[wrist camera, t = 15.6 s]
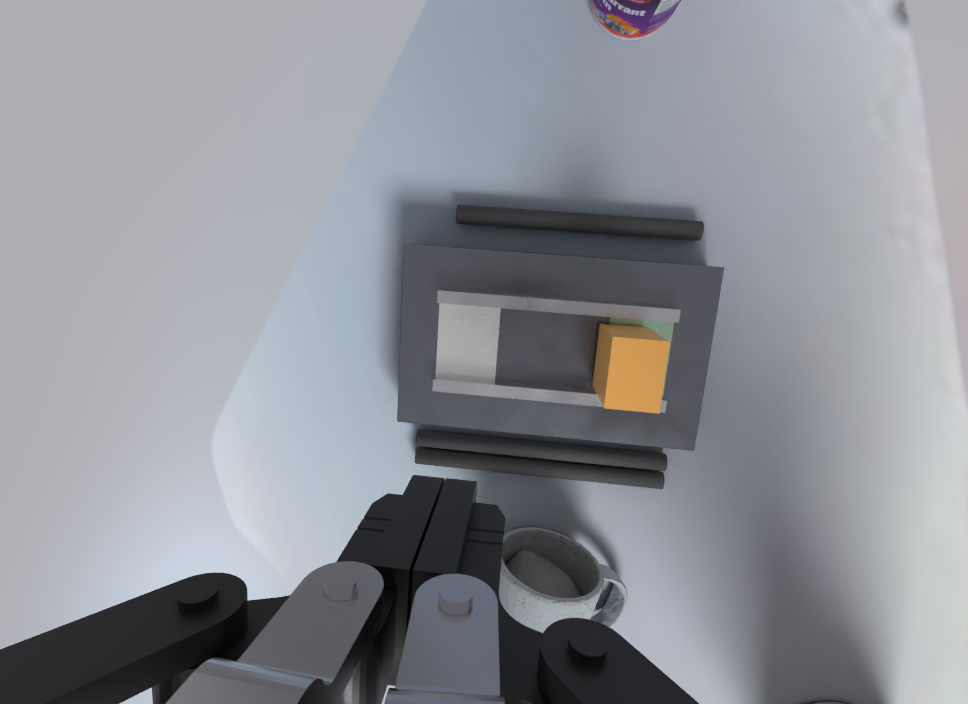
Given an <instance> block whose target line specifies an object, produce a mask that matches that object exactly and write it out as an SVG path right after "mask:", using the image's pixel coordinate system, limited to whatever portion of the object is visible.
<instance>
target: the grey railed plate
mask: <svg viewBox="0 0 968 704" xmlns="http://www.w3.org/2000/svg"><path fill="white" fill-rule="evenodd" d="M456 222H457V223H458V224H472V225H486V226H500V227H514V228H529V229H543V230H557V231H571V232H585V233H600V234H614V235H628V236H642V237H657V238H671V239H685V240H700V239H701V237H702V234H703V229H704V225H703V222H700V221H685V220H670V219H656V218H641V217H626V216H611V215H597V214H582V213H567V212H552V211H538V210H523V209H508V208H493V207H479V206H464V205H458V206H457V212H456ZM416 446H423V447H432V448H442V449H452V450H462V451H472V452H482V453H492V454H502V455H511V456H521V457H531V458H541V459H551V460H561V461H571V462H581V463H590V464H600V465H610V466H620V467H630V468H640V469H650V470H660V471H665V470H666V468H667V456H666V454H660V453H650V452H640V451H630V450H620V449H610V448H600V447H590V446H579V445H569V444H559V443H549V442H539V441H529V440H519V439H509V438H499V437H489V436H478V435H468V434H458V433H448V432H438V431H428V430H418V431H417V435H416ZM415 463H416V464H425V465H435V466H444V467H454V468H464V469H473V470H483V471H493V472H502V473H512V474H521V475H531V476H541V477H550V478H560V479H570V480H579V481H589V482H599V483H608V484H618V485H628V486H637V487H647V488H656V489H663V487H664V474H663V472H657V471H647V470H637V469H627V468H618V467H608V466H598V465H588V464H578V463H568V462H558V461H548V460H539V459H529V458H519V457H509V456H499V455H489V454H479V453H470V452H460V451H450V450H440V449H430V448H420V447H417V449H416V454H415Z"/></svg>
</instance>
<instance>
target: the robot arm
mask: <svg viewBox="0 0 968 704" xmlns="http://www.w3.org/2000/svg"><path fill="white" fill-rule="evenodd" d="M476 496H477V481H467V480H458V479H448V478H446V480H445V479H444V478H438V477H428V476H419V475H413V476H412V478H411V480H410V482H409V484H408V486H407V488H406V490H405V492H404V494H403V495H397V494H386V495H385V496H383V497H382V498H380V499H379V500H377V501H375V502H374V503H372V505H371V506H370V508H369V510H368V511H367V513H366V515H365V516H364V519H362V521H361V523H360V524H359V526H358V529H357V530H356V531H355V532H354V534H353V536H352V537H351V539H350V541H349V542H348V544H347V546H346V547H345V549H344V550H343V552H342V554H341V555H340V557H339V559H338V560H337V562H335V563H331V564H327V565H324V566H322V567H320V568H317V569H316V570H314V571H312V572H311V573H310V574H308V575H307V576H306V577H305V578H304V579H303V580H302V582H301V583H300V584H299V585H298V587H297V588H296V589H295V590H294V592H293V593H292V594H291V595H290V596H284V597H278V598H269V599H259V600H251V601H247V587H246V584H245V583H244V581H242V580H241V579H240V578H238V577H237V576H234V575H231V574H226V573H206V574H201V575H196V576H192V577H189V578H186V579H183V580H180V581H178V582H175V583H173V584H170V585H167V586H165V587H162V588H160V589H157V590H154V591H152V592H149V593H147V594H144V595H141V596H139V597H136V598H133V599H131V600H128V601H126V602H123V603H120V604H118V605H115V606H113V607H110V608H107V609H105V610H102V611H100V612H97V613H95V614H92V615H89V616H87V617H84V618H81V619H79V620H76V621H74V622H71V623H68V624H66V625H63V626H61V627H58V628H55V629H53V630H50V631H48V632H45V633H42V634H40V635H37V636H35V637H32V638H30V639H27V640H24V641H21V642H19V643H16V644H14V645H11V646H8V647H6V648H3V649H1V650H0V704H119V703H121V702H123V701H125V700H127V699H129V698H131V697H133V696H135V695H137V694H139V693H141V692H143V691H145V690H147V689H149V688H151V687H152V696H153V704H381V703H382V700H383V697H384V694H385V691H386V688H387V685H393V686H395V688H389V690H388V693H387V696H386V699H385V703H384V704H699V703H698V702H697V701H695V700H694V699H693V698H692V697H691V696H690V695H689V694H687V693H686V692H685V691H684V690H683V689H682V688H680V687H679V686H678V685H677V684H676V683H675V682H674V681H672V680H671V679H670V678H669V677H668V676H667V675H665V674H664V673H663V672H662V671H661V670H660V669H659V668H657V667H656V666H655V665H654V664H653V663H652V662H650V661H649V660H648V659H647V658H646V657H645V656H643V655H642V654H641V653H640V652H639V651H638V650H637V649H635V648H634V647H633V646H632V645H631V644H630V643H628V642H627V641H626V640H625V639H624V638H623V637H622V636H620V635H619V634H618V633H617V632H615V631H614V630H613V629H611V628H609V627H608V626H606V625H604V624H601V623H599V622H596V621H593V620H590V619H585V618H566V619H561V620H558V621H556V622H554V623H552V624H551V625H549V626H548V627H547V628H546V629H545V631H544V632H543V633H542V632H539V631H536V630H534V629H531V628H529V627H527V626H525V625H523V624H521V623H519V622H518V621H516V620H515V619H514V618H512V617H511V616H510V615H509V614H508V613H507V612H506V610H505V609H504V607H503V606H502V604H501V602H500V598H499V584H500V572H501V560H502V549H503V537H504V525H505V517H504V515H503V514H502V512H501V511H500V509H499V508H498V506H497V505H491V504H481V503H476ZM813 704H846V703H839V702H818V703H813Z"/></svg>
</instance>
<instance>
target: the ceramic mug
mask: <svg viewBox="0 0 968 704" xmlns="http://www.w3.org/2000/svg"><path fill="white" fill-rule="evenodd" d="M604 580H606V581H610V582H612V583H613V587H612V590H611V593H610V595H609V597H608V599H607V601H606V604H605V605H604V606H603V608H602V610H601V611H600V612H599V613H598V614H596V615H594V616H593V617H592V614H593V612H594V609H595V607H596V604H597V602H598V599H599V597H600V594H601V592H602V588H603V584H604ZM499 598H500V602H501V604H502V606H503V607H504V609H505V610H506V612H507V613H508V614H509V615H510V616H511V617H512V618H514V619H515V620H516V621H518V622H519V623H521V624H523V625H525V626H527V627H529V628H531V629H534V630H536V631H539V632H542V633H543V632H544V631H545V629H546V628H547V627H548V626H549V625H551V624H552V623H554V622H556V621H558V620H561V619H566V618H585V619H590V620H593V621H596V622H599V623H601V624H604V625H606V626H608V627H609V628H610V627H612V626H613V625H614V624H615V622H616V621H617V620H618V619H619V617H620V616H621V614H622V612H623V610H624V608H625V605H626V602H627V589H626V587H625V585H624V584H623V582H622V581H621V580H620V578H619V577H618V576H617V574H616V573H615V572H614V571H613V570H612V569H611V568H609V567H607V566H605V565H602V564H599V563H598V561H597V560H596V558H595V557H594V556H593V555H592V554H591V553H590V552H589V551H588V550H587V549H586V548H585V547H584V546H582V545H581V544H579V543H578V542H576V541H575V540H573V539H571V538H569V537H567V536H565V535H563V534H561V533H558V532H555V531H552V530H548V529H544V528H538V527H523V528H517V529H514V530H511V531H509V532H508V533H506V534H505V535H504V537H503V549H502V560H501V572H500V584H499Z"/></svg>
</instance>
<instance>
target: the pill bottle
mask: <svg viewBox="0 0 968 704" xmlns="http://www.w3.org/2000/svg"><path fill="white" fill-rule="evenodd" d="M680 1H681V0H590V5H591V10H592V13H593V15H594V18H595V20H596V21H597V23H598V24H599V26H600V27H601V28H602V29H603V30H604V31H605V32H606V33H608V34H609V35H611V36H613V37H615V38H617V39H620V40H626V41H634V40H640V39H643V38H646V37H648V36H650V35H652V34H653V33H655V32H656V31H658V30H659V29H660V28H661V27H662V26H663V25H664V24H665V23H666V22H667V20H668V19H669V18H670V17H671V15H672V14H673V12H674V11H675V9H676V8H677V6H678V4H679V3H680Z"/></svg>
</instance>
